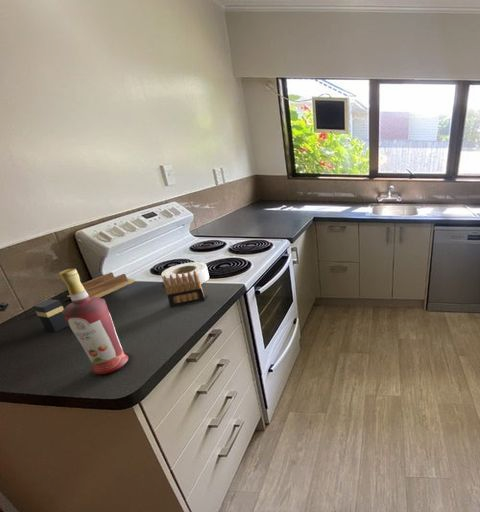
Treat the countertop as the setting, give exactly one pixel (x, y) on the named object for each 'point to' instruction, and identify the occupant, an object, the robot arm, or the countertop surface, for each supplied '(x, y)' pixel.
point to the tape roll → (185, 268)
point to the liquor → (92, 326)
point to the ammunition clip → (184, 290)
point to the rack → (105, 284)
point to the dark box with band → (51, 315)
